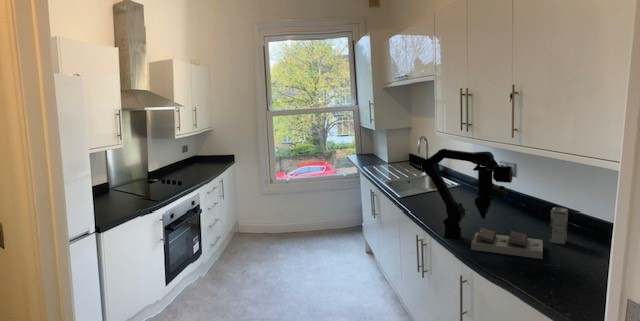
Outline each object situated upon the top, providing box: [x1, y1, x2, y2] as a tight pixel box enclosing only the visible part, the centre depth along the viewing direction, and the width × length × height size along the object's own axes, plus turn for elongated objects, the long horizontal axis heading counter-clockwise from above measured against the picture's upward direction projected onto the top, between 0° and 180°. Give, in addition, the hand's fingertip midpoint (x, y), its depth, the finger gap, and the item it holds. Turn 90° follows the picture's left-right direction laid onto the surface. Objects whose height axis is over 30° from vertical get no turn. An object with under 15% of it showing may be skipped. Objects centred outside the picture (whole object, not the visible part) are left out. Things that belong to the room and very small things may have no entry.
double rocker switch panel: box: [463, 232, 544, 260], centre depth 159 cm, size 30×14×3 cm, turn 60°
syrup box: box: [548, 206, 569, 245], centre depth 161 cm, size 6×6×14 cm
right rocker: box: [509, 230, 527, 246], centre depth 155 cm, size 6×11×1 cm, turn 150°
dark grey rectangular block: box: [477, 227, 496, 242], centre depth 161 cm, size 6×11×1 cm, turn 150°
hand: (484, 215), depth 164 cm, fingers open, 9 cm apart
